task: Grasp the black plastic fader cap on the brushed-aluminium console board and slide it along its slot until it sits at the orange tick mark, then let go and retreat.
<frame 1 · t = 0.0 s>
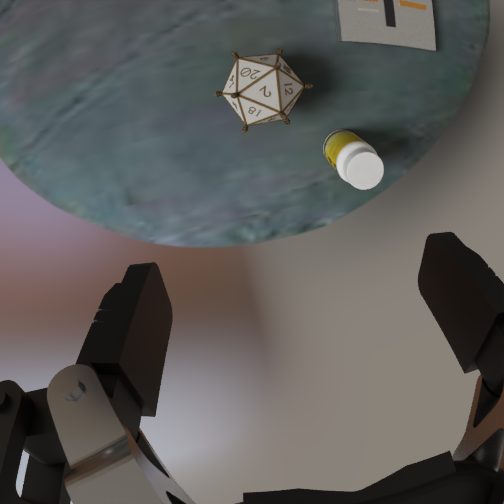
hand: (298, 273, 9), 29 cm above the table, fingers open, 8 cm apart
supplement bottle: (341, 147, 36), on the table
game die: (260, 86, 32), on the table
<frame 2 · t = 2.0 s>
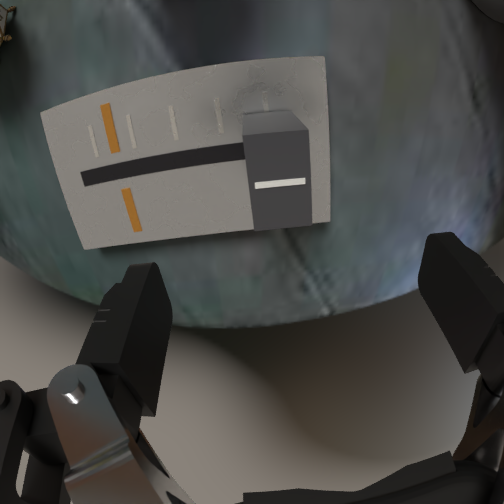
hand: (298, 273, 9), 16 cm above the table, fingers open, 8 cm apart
fader knob: (274, 163, 17), point 5 cm above the table, slide at 0.0 cm
console board: (185, 151, 22), on the table
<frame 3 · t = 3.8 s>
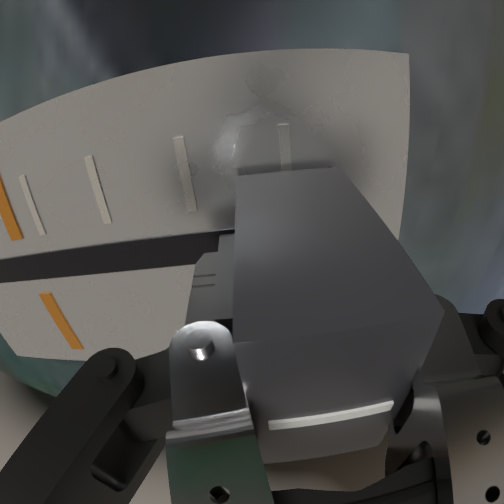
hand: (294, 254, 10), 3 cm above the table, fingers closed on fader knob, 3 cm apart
fader knob: (309, 310, 8), point 5 cm above the table, slide at 0.0 cm, touching gripper
console board: (135, 229, 12), on the table
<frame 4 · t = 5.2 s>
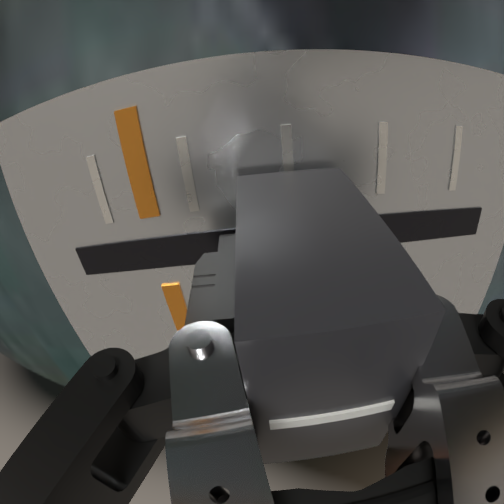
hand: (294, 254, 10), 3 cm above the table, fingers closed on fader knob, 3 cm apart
fader knob: (309, 310, 8), point 5 cm above the table, slide at 6.0 cm, touching gripper
console board: (284, 211, 12), on the table
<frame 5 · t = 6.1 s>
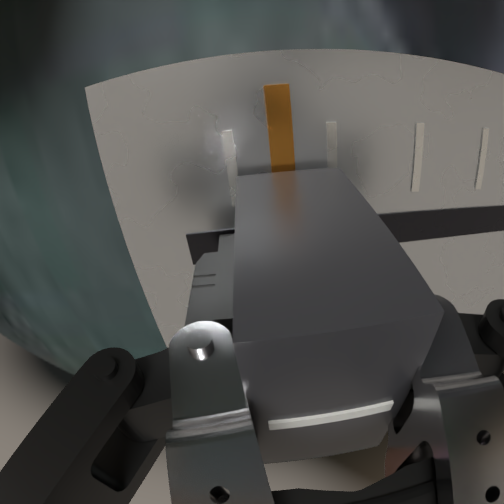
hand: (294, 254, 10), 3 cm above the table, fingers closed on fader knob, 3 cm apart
fader knob: (308, 310, 8), point 5 cm above the table, slide at 10.4 cm, touching gripper
console board: (388, 202, 12), on the table
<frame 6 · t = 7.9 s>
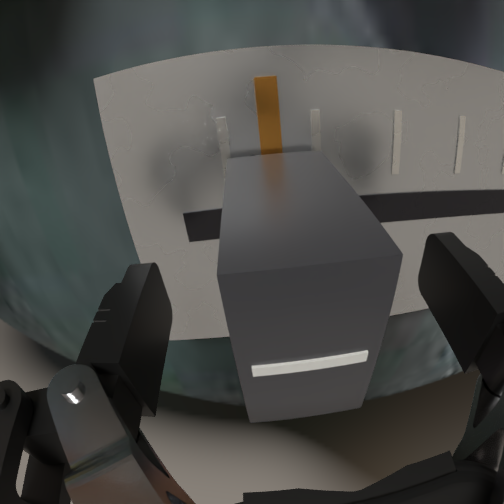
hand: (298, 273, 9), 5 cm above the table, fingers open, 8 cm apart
fader knob: (291, 275, 9), point 5 cm above the table, slide at 10.4 cm
console board: (373, 187, 13), on the table
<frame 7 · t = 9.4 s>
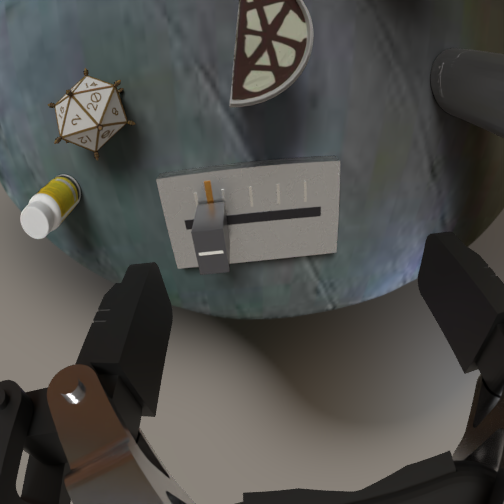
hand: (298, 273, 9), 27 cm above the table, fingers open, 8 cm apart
supplement bottle: (66, 190, 35), on the table
food container: (265, 44, 28), on the table
game die: (105, 106, 30), on the table
fader knob: (212, 237, 34), point 5 cm above the table, slide at 10.4 cm
console board: (252, 209, 38), on the table
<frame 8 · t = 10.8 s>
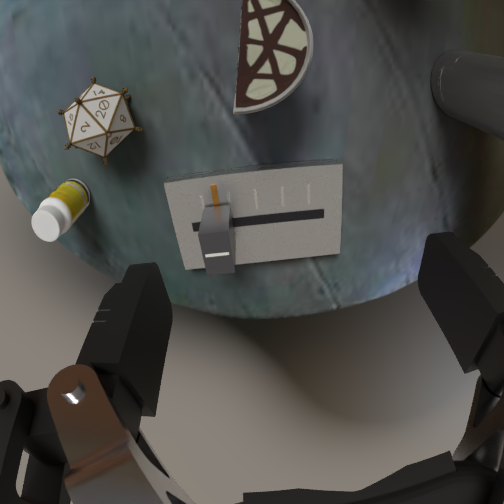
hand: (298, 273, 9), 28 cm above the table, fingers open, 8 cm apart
supplement bottle: (76, 194, 37), on the table
food container: (267, 51, 29), on the table
game die: (113, 112, 32), on the table
fader knob: (218, 239, 35), point 5 cm above the table, slide at 10.4 cm
console board: (257, 212, 39), on the table
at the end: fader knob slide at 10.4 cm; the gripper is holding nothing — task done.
